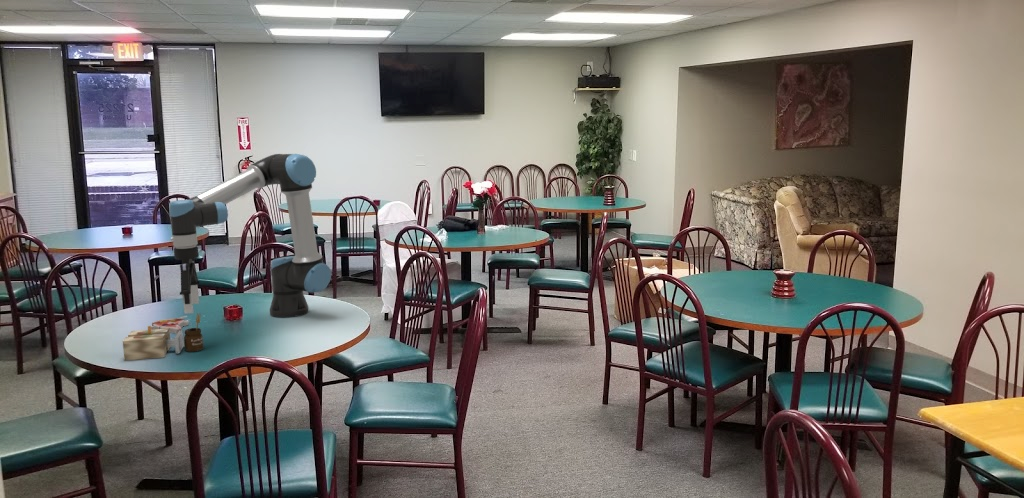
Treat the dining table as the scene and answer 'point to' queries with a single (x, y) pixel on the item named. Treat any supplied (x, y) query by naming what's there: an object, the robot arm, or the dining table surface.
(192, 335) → the utensil holder
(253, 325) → the dining table surface
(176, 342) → the grey flanged cylinder
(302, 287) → the robot arm
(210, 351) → the dining table surface
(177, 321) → the toy
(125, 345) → the beige box
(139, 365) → the dining table surface
